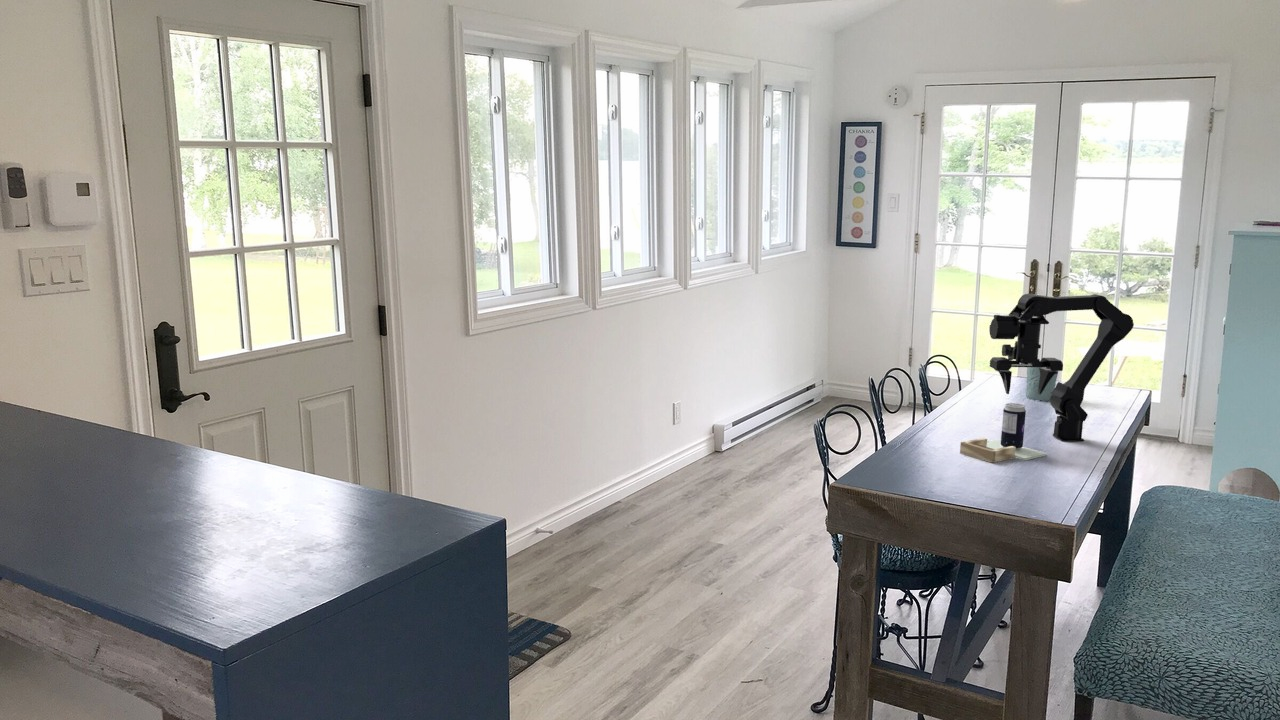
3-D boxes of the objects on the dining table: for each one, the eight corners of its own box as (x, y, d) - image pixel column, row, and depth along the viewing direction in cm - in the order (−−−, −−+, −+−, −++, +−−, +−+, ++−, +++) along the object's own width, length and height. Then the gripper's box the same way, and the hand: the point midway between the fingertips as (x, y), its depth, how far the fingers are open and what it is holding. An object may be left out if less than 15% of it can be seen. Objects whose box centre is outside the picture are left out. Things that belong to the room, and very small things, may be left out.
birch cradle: (982, 448, 268) (983, 437, 268) (1014, 457, 260) (1015, 446, 259) (959, 452, 264) (960, 442, 263) (991, 462, 255) (992, 451, 254)
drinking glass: (1032, 393, 337) (1035, 359, 335) (1061, 398, 330) (1064, 363, 328) (1018, 397, 330) (1021, 363, 328) (1047, 403, 323) (1051, 367, 321)
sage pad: (997, 441, 276) (997, 439, 276) (1046, 455, 262) (1046, 453, 262) (975, 445, 271) (975, 443, 271) (1024, 460, 258) (1025, 458, 258)
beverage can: (1024, 451, 263) (1028, 408, 261) (1002, 450, 265) (1005, 407, 262) (1020, 446, 269) (1024, 403, 267) (998, 444, 270) (1002, 402, 268)
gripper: (1048, 335, 282) (1043, 388, 285) (984, 334, 281) (980, 387, 284) (1066, 341, 271) (1060, 396, 274) (999, 341, 270) (995, 396, 273)
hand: (1023, 393), depth 277 cm, fingers open, 9 cm apart
